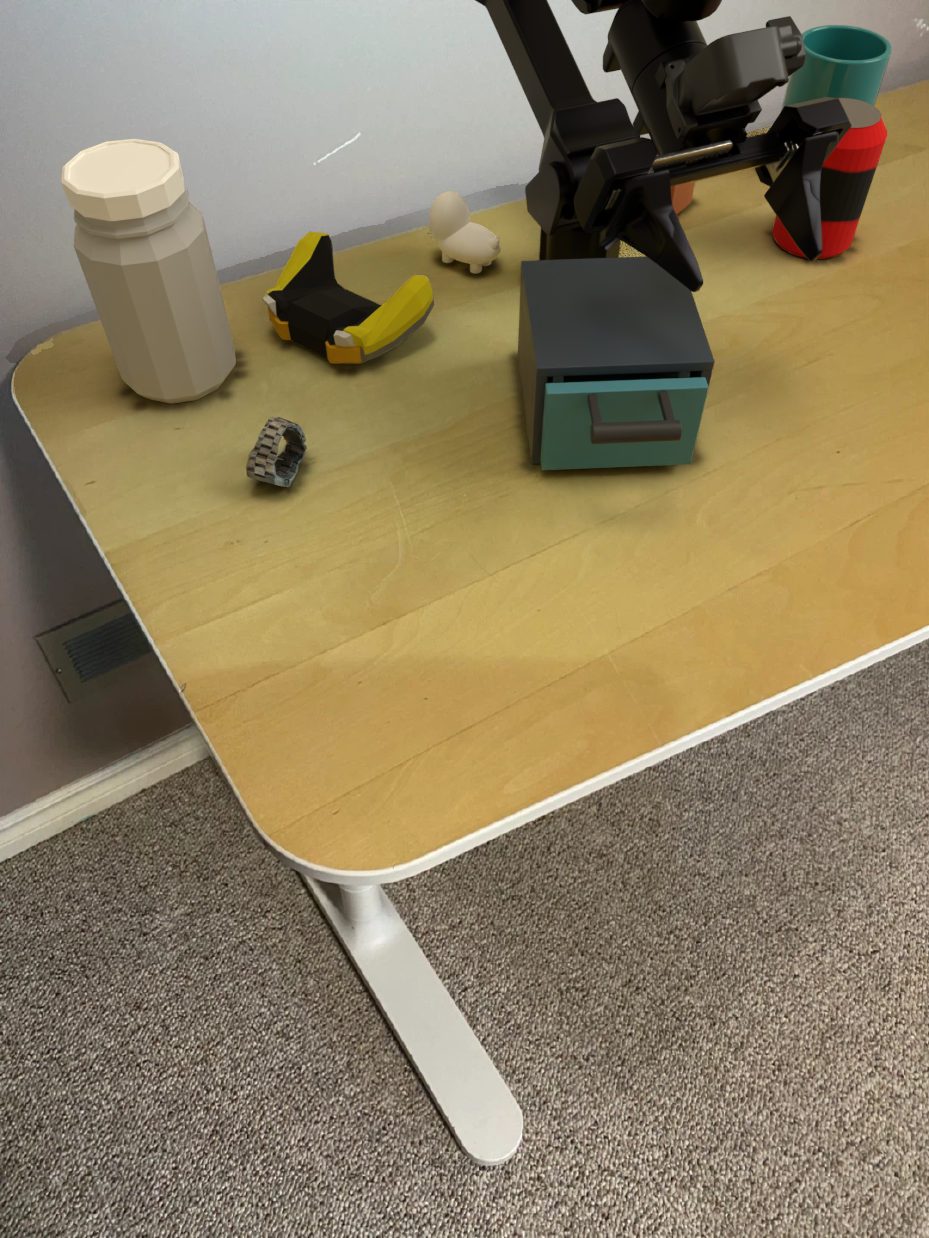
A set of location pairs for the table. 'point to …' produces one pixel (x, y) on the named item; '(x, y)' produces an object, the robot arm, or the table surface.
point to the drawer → (621, 420)
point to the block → (681, 195)
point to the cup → (839, 65)
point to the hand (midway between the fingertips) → (758, 272)
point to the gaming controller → (341, 308)
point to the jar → (149, 269)
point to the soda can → (844, 180)
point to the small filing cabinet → (603, 326)
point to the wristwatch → (266, 450)
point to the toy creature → (461, 233)
